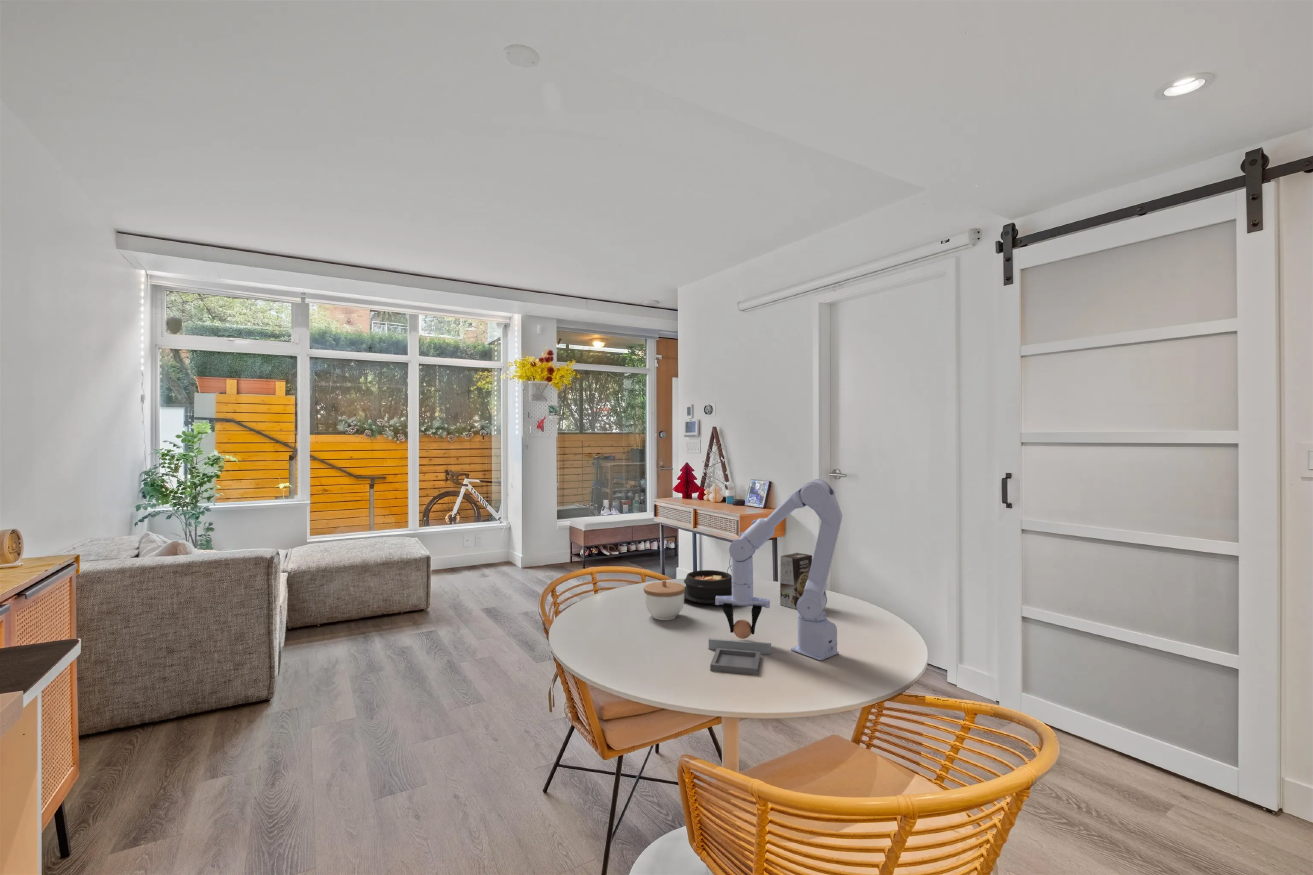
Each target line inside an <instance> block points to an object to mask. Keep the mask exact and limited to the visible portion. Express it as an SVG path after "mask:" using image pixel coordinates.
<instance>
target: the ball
mask: <svg viewBox="0 0 1313 875" xmlns="http://www.w3.org/2000/svg"><path fill="white" fill-rule="evenodd" d="M751 629H752V623H750V622H749V621H748V620H746V619H737V620H736V621H735V622H734V626H733V634H734V635H735V637H737V638H739V640H740V639H741V640H743V639H744V640H745V639H747V638H750V636H751V635H752V634H751Z"/></svg>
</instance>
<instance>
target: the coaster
mask: <svg viewBox="0 0 1313 875" xmlns="http://www.w3.org/2000/svg"><path fill="white" fill-rule="evenodd" d="M760 660H761V653H760V652H759V651H747V650H736V649H724V648H716V650H714V654H713V656H712V659H711V662H710V666H709V670H710V671H715V672H723V673H736V674H746V675H754V676H755V675H758V672H759V667H760V666H759V665H760Z"/></svg>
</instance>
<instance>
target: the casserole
mask: <svg viewBox="0 0 1313 875" xmlns="http://www.w3.org/2000/svg"><path fill="white" fill-rule="evenodd" d="M683 583H684V584H685V585H684V587H685V595H684V600H685V599H686V600H689V601H691V602H694V603H697V604H701V605H715V598H716V596H732V574H731V573H728V572H726V571H721V570H713V569H707V570H706V569H703V570H702V569H701V570H695V571H691V572H689V573H687V574H686V577H685V579H684V580H683Z"/></svg>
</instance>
